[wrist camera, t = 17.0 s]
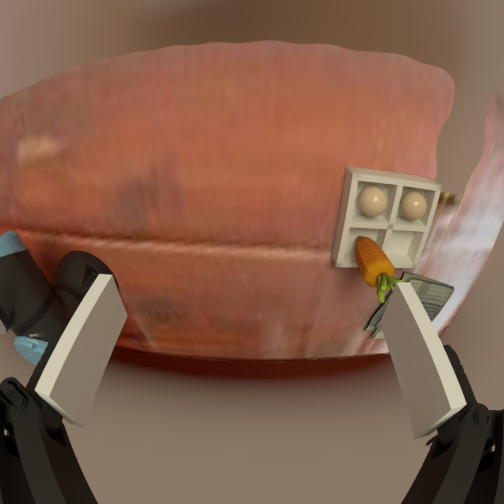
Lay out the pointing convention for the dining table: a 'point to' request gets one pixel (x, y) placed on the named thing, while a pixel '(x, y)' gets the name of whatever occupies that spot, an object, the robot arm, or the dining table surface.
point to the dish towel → (427, 292)
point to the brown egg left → (373, 201)
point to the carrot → (374, 266)
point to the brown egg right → (413, 205)
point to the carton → (383, 217)
